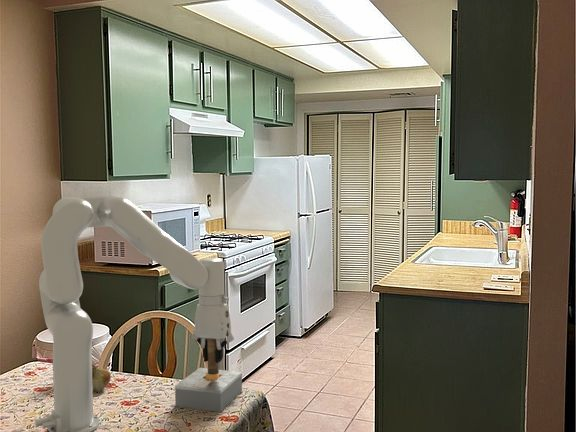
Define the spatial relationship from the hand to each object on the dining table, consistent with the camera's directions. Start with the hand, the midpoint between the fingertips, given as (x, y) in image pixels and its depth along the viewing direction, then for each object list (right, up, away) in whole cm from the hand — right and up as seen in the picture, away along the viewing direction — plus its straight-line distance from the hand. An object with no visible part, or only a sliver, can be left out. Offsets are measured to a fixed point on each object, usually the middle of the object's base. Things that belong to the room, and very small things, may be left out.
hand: (212, 360), depth 174 cm
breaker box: (-1, -11, -1) cm, 11 cm away
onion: (-36, -11, +6) cm, 38 cm away
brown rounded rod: (0, -4, 0) cm, 4 cm away
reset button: (0, -8, 0) cm, 8 cm away
